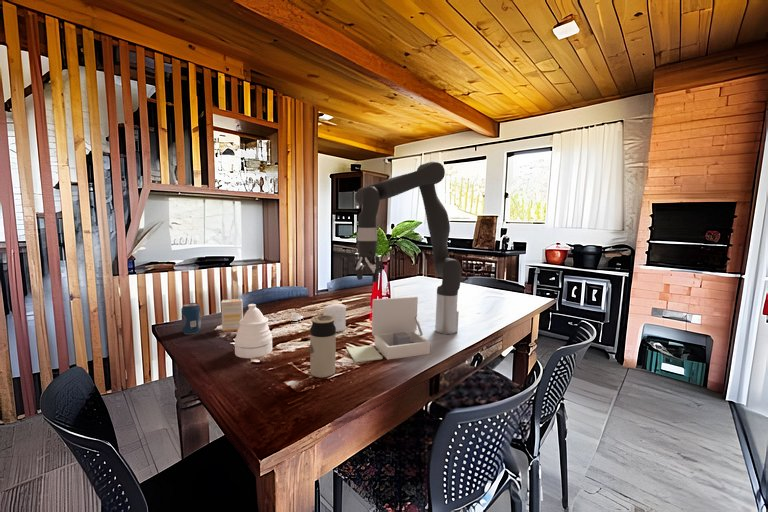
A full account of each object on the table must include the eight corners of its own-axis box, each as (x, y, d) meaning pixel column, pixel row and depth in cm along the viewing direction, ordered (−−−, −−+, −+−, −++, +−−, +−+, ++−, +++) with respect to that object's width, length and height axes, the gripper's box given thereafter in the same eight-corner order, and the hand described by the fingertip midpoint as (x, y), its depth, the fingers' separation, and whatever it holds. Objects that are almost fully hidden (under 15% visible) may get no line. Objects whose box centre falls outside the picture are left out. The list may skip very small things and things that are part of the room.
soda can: (180, 331, 141) (179, 304, 139) (199, 328, 145) (198, 301, 144) (184, 336, 135) (182, 307, 134) (202, 332, 140) (201, 304, 139)
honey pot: (269, 357, 117) (268, 307, 115) (230, 359, 115) (229, 308, 113) (274, 343, 129) (274, 299, 128) (240, 345, 127) (239, 299, 125)
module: (404, 346, 130) (405, 331, 129) (409, 351, 125) (410, 336, 125) (392, 348, 128) (393, 333, 128) (397, 353, 124) (398, 337, 123)
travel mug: (335, 366, 111) (335, 314, 109) (335, 377, 103) (336, 321, 101) (310, 367, 110) (310, 314, 108) (309, 379, 102) (309, 322, 100)
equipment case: (415, 340, 137) (416, 296, 135) (432, 353, 124) (434, 305, 122) (371, 345, 131) (372, 299, 129) (384, 359, 117) (386, 309, 115)
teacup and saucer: (300, 318, 165) (300, 310, 165) (308, 322, 159) (308, 313, 159) (283, 321, 159) (283, 313, 159) (291, 325, 153) (291, 317, 153)
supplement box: (243, 326, 149) (242, 298, 147) (242, 330, 144) (242, 301, 143) (223, 328, 146) (222, 299, 145) (221, 331, 141) (220, 302, 140)
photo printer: (342, 328, 150) (343, 301, 149) (347, 330, 147) (347, 303, 146) (321, 331, 145) (321, 304, 144) (325, 334, 141) (325, 306, 140)
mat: (371, 346, 129) (371, 345, 129) (382, 358, 118) (382, 357, 118) (346, 349, 125) (346, 348, 125) (355, 362, 114) (355, 360, 114)
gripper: (387, 240, 125) (387, 282, 127) (361, 238, 135) (361, 277, 137) (373, 240, 120) (373, 284, 121) (347, 239, 129) (348, 279, 131)
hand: (367, 280), depth 129 cm, fingers open, 8 cm apart
